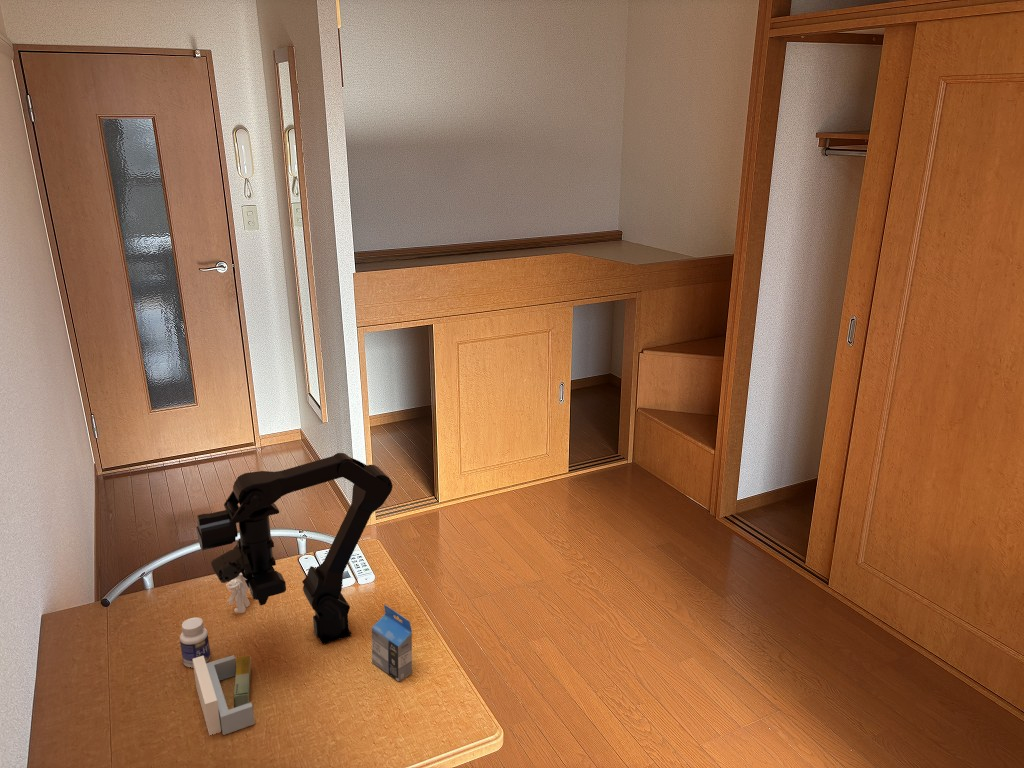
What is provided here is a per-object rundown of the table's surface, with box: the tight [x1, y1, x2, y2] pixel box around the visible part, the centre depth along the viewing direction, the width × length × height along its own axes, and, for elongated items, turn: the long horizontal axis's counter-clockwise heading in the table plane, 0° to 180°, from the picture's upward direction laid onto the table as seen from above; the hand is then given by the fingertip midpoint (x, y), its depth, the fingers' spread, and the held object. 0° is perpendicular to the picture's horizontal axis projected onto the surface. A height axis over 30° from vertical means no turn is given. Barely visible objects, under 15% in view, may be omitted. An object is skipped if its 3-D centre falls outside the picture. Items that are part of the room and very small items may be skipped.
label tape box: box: [371, 604, 413, 682], centre depth 151 cm, size 9×4×12 cm, turn 47°
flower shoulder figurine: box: [225, 573, 251, 614], centre depth 170 cm, size 9×4×12 cm, turn 173°
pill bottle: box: [179, 617, 211, 669], centre depth 153 cm, size 5×5×9 cm
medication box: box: [233, 655, 252, 708], centre depth 146 cm, size 12×3×4 cm, turn 16°
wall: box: [193, 656, 222, 737], centre depth 140 cm, size 2×14×7 cm, turn 30°
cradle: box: [206, 654, 256, 736], centre depth 142 cm, size 6×16×4 cm, turn 31°
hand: (262, 604), depth 153 cm, fingers closed
